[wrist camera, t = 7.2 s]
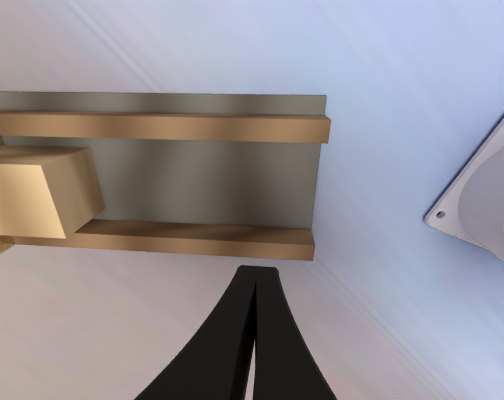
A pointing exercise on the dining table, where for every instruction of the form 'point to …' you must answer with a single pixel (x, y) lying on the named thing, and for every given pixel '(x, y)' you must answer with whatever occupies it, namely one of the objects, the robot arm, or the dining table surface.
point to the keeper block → (47, 190)
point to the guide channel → (185, 168)
